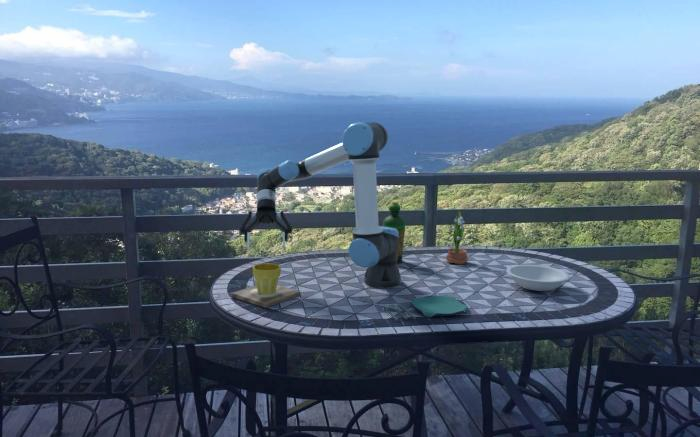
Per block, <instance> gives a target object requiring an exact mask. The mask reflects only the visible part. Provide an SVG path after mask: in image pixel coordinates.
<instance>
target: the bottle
mask: <svg viewBox="0 0 700 437" xmlns="http://www.w3.org/2000/svg"><path fill="white" fill-rule="evenodd" d="M388 211H389V215H388V216H386V217H385V218H384V219H383V221H382V227H390V228H395V229H397V230H398V236H399V238H398V260H397V264H400V263H401V262H403V254H404V246H405V245H404V244H405V234H406V233H405V232H406V220H405V218H403V217H402V216H400V211H401V206H400V204H399V202H398V201H391V204H389V206H388Z"/></svg>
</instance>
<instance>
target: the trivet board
mask: <svg viewBox="0 0 700 437" xmlns="http://www.w3.org/2000/svg"><path fill="white" fill-rule="evenodd" d="M300 296H301V291H300V290H297V289H296V290H295V289H293V288H290V287H286V286H282V285H279V284H277V287H276V291H275V293H273V294H260V293H258V291H257V286H256V285H253V286H251V287H247V288H243V289H240V290H236V291H234V292H231V298H234V299H237V300H240V301H243V302H246V303H249V304H253V305H256V306H259V307H262V308H265V309H266V308H269V307H272V306H274V305H277V304H281V303H282V302H286V301H288V300H292V299H294V298H297V297H300Z"/></svg>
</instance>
